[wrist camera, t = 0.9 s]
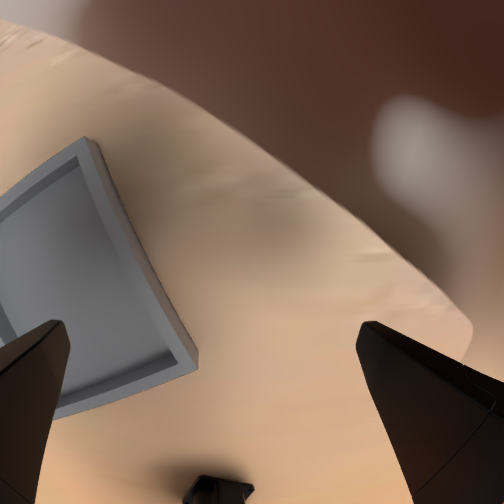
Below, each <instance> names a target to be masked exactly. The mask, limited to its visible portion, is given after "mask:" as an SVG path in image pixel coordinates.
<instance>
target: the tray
mask: <svg viewBox="0 0 504 504" xmlns="http://www.w3.org/2000/svg"><path fill="white" fill-rule="evenodd" d="M51 319H55V320H62V321H63V322H64V324H65V327H66V330H67V334H68V337H69V340H70V344H71V349H70V354H69V358H68V362H67V366H66V371H65V375H64V380H63V385H62V389H61V393H60V396H59V400H58V403H57V406H56V409H55V413H54V416H53V420H56V419H60V418H63V417H67V416H70V415H73V414H77V413H80V412H83V411H86V410H90V409H93V408H96V407H99V406H102V405H105V404H108V403H111V402H114V401H117V400H120V399H122V398H125V397H128V396H131V395H134V394H136V393H139V392H142V391H145V390H147V389H150V388H153V387H155V386H158V385H160V384H163V383H165V382H168V381H171V380H173V379H176V378H178V377H180V376H183V375H185V374H188V373H190V372H193V371H195V370H197V369H198V355H199V351H198V349H197V348H196V346H195V344H194V343H193V341H192V339H191V337H190V336H189V334H188V332H187V331H186V329H185V327H184V325H183V324H182V322H181V320H180V318H179V316H178V315H177V313H176V311H175V309H174V307H173V306H172V304H171V302H170V300H169V298H168V296H167V295H166V293H165V291H164V289H163V287H162V285H161V283H160V281H159V279H158V277H157V275H156V274H155V272H154V270H153V268H152V266H151V264H150V262H149V260H148V258H147V256H146V254H145V252H144V249H143V247H142V245H141V243H140V241H139V239H138V237H137V235H136V233H135V231H134V228H133V226H132V224H131V222H130V220H129V217H128V215H127V213H126V211H125V209H124V206H123V204H122V202H121V199H120V197H119V195H118V192H117V190H116V188H115V185H114V183H113V180H112V178H111V176H110V173H109V171H108V168H107V166H106V163H105V161H104V158H103V155H102V153H101V150H100V147H99V145H98V144H96V143H95V142H93V141H91V140H90V139H88V138H86V137H85V136H84V137H82V138H80V139H79V140H77V141H76V142H74V143H72V144H71V145H69V146H68V147H66V148H65V149H63V150H62V151H60V152H59V153H57V154H56V155H54V156H53V157H52V158H50V159H49V160H47V161H46V162H45V163H43V164H42V165H40V166H39V167H38V168H36V169H35V170H34V171H32V172H31V173H30V174H28V175H27V176H26V177H25V178H23V179H22V180H21V181H19V182H18V183H17V184H16V185H15V186H13V187H12V188H11V189H10V190H8V191H7V192H6V193H5V194H4V195H3V196H1V197H0V348H1V347H2V346H4V345H6V344H8V343H9V342H11V341H13V340H15V339H16V338H18V337H20V336H22V335H23V334H25V333H27V332H29V331H31V330H32V329H34V328H36V327H38V326H39V325H41V324H43V323H45V322H47V321H49V320H51ZM53 420H52V421H53Z"/></svg>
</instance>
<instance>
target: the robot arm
mask: <svg viewBox="0 0 504 504" xmlns="http://www.w3.org/2000/svg"><path fill="white" fill-rule="evenodd" d="M70 349H71V344H70V340H69V337H68V334H67V330H66V327H65V324H64V322H63V321H62V320H55V319H51V320H49V321H47V322H45V323H43V324H41V325H39V326H38V327H36V328H34V329H32V330H31V331H29V332H27V333H25V334H23V335H22V336H20V337H18V338H16V339H15V340H13V341H11V342H9V343H8V344H6V345H4V346H2V347H1V348H0V504H35V498H36V492H37V486H38V480H39V475H40V470H41V465H42V460H43V456H44V451H45V447H46V443H47V439H48V435H49V431H50V427H51V424H52V420H53V416H54V413H55V409H56V406H57V403H58V400H59V396H60V393H61V389H62V385H63V380H64V375H65V371H66V366H67V362H68V358H69V354H70ZM356 351H357V354H358V357H359V360H360V364H361V367H362V370H363V373H364V376H365V380H366V383H367V386H368V389H369V391H370V394H371V396H372V398H373V401H374V403H375V405H376V408H377V410H378V413H379V415H380V417H381V420H382V422H383V424H384V427H385V429H386V432H387V434H388V437H389V439H390V442H391V444H392V447H393V449H394V452H395V454H396V457H397V459H398V462H399V464H400V467H401V470H402V472H403V475H404V477H405V480H406V483H407V485H408V488H409V491H410V494H411V496H412V500H413V502H414V504H504V382H501V381H499V380H496V379H494V378H492V377H489V376H487V375H485V374H482V373H480V372H478V371H476V370H474V369H472V368H470V367H468V366H466V365H463V364H462V363H460V362H458V361H456V360H454V359H452V358H450V357H447V356H445V355H443V354H441V353H439V352H437V351H435V350H433V349H431V348H429V347H427V346H425V345H423V344H421V343H419V342H417V341H415V340H413V339H411V338H409V337H407V336H405V335H403V334H401V333H399V332H397V331H395V330H393V329H391V328H389V327H387V326H385V325H383V324H381V323H379V322H377V321H365V322H363V323H362V325H361V328H360V331H359V335H358V338H357V341H356ZM254 490H255V489H254V486H252V485H247V484H242V483H236V482H231V481H226V480H221V479H217V478H212V477H208V476H204V475H202V476H199V477H198V479H197V480H196V482H195V483H194V484H193V486H192V487H191V489H190V490H189V492H188V493H187V494H186V496H185V497H184V499H183V500H182V503H183V504H245V500H246V499H247V498H248V497H249V496H250V495H251V493H252V492H253V491H254Z"/></svg>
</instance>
